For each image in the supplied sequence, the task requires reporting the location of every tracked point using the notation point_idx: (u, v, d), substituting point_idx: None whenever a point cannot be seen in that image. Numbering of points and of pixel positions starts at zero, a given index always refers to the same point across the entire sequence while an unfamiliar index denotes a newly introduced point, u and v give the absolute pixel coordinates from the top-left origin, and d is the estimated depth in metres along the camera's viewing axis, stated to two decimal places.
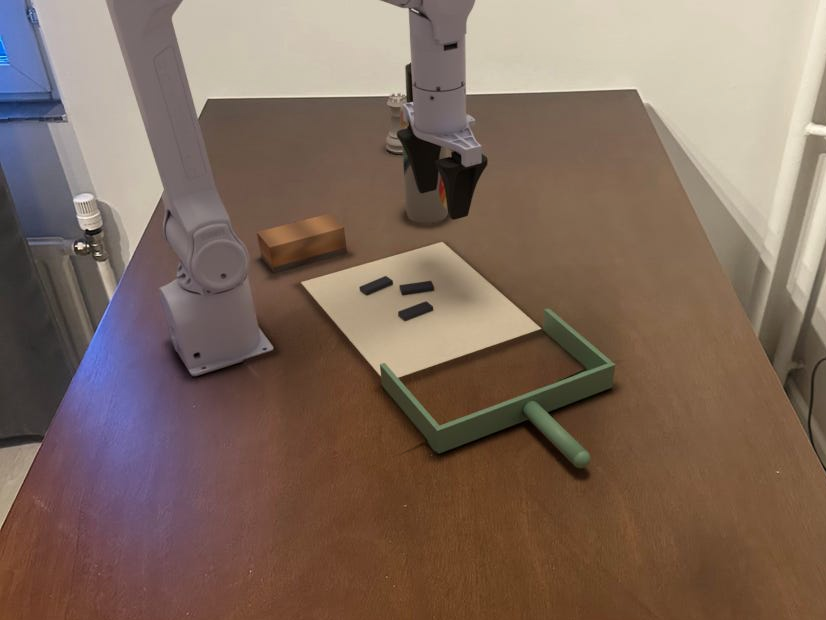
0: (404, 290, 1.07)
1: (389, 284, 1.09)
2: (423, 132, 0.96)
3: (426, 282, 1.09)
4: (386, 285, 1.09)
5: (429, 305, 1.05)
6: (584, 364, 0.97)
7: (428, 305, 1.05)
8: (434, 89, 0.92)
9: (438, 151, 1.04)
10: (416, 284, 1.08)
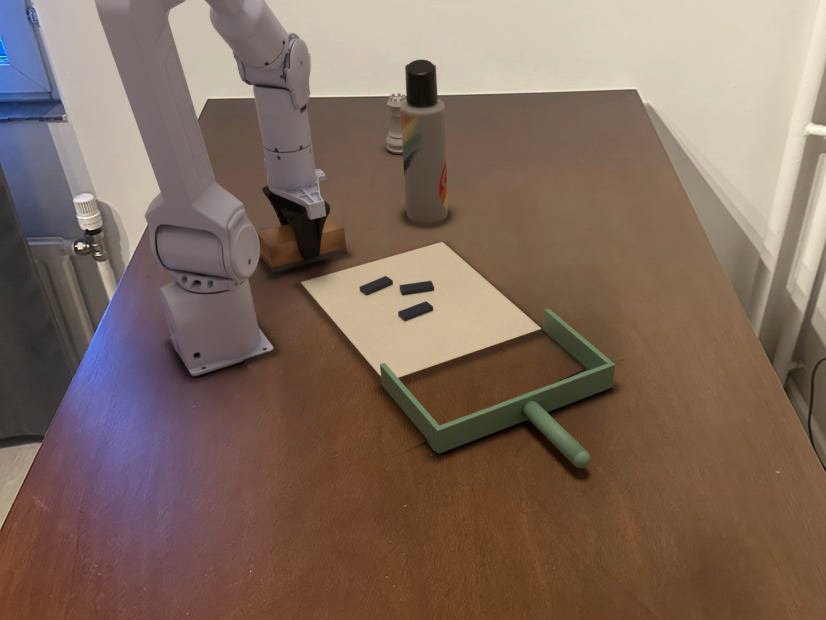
0: (404, 290, 1.07)
1: (389, 284, 1.09)
2: (275, 187, 1.06)
3: (426, 282, 1.09)
4: (386, 285, 1.09)
5: (429, 305, 1.05)
6: (584, 364, 0.97)
7: (428, 305, 1.05)
8: (298, 148, 1.03)
9: None
10: (416, 284, 1.08)
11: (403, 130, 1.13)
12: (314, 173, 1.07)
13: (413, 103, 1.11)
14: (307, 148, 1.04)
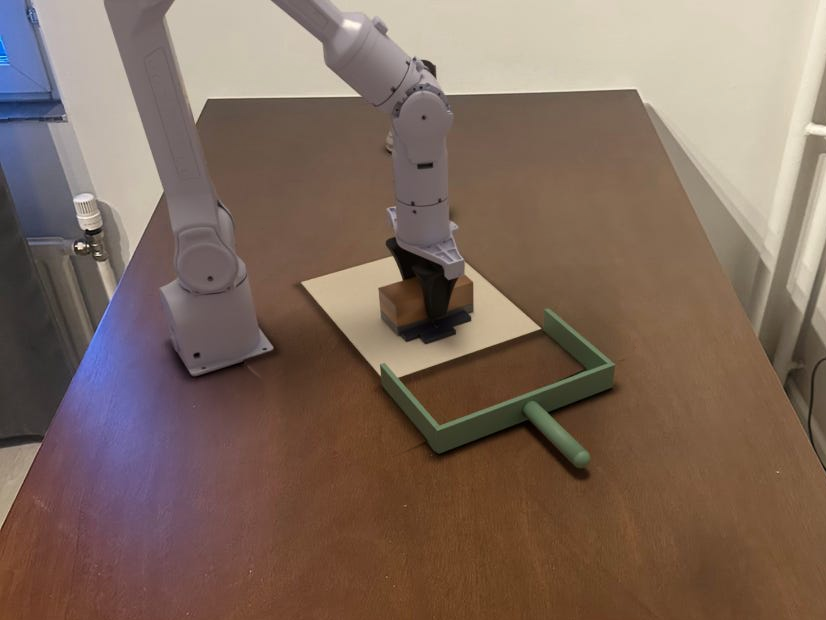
0: (443, 325, 1.02)
1: None
2: (406, 243, 0.95)
3: (461, 313, 1.04)
4: None
5: (452, 329, 1.01)
6: (584, 364, 0.97)
7: (451, 328, 1.01)
8: (409, 203, 0.92)
9: (427, 258, 1.03)
10: (452, 316, 1.03)
11: None
12: (449, 227, 0.96)
13: None
14: (445, 201, 0.93)
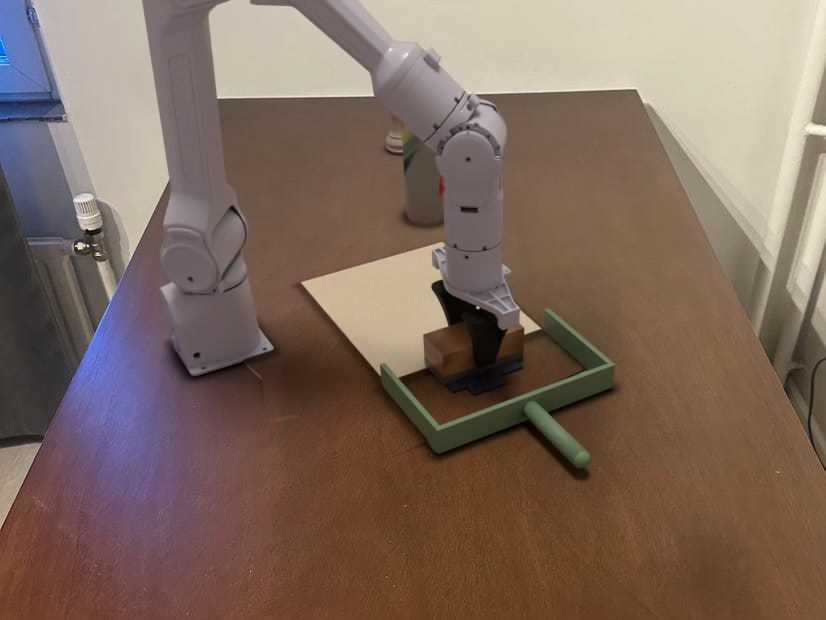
0: (494, 375, 0.95)
1: None
2: (456, 289, 0.89)
3: (512, 362, 0.97)
4: None
5: (502, 380, 0.95)
6: (584, 364, 0.97)
7: (501, 380, 0.95)
8: (452, 245, 0.86)
9: None
10: (502, 366, 0.97)
11: (403, 130, 1.13)
12: (501, 271, 0.90)
13: None
14: (499, 245, 0.87)
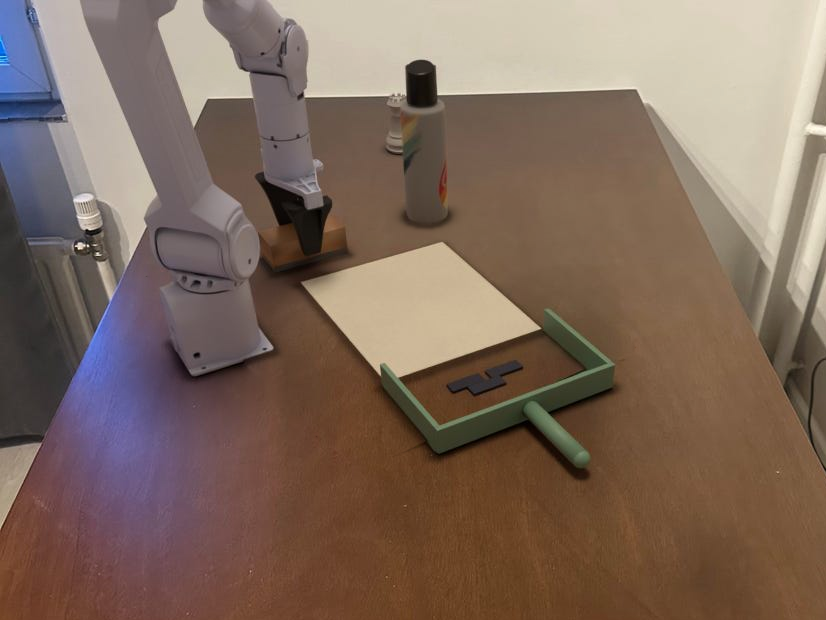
0: (494, 376, 0.95)
1: None
2: (271, 177, 1.04)
3: (512, 362, 0.97)
4: None
5: (502, 380, 0.95)
6: (584, 364, 0.97)
7: (501, 380, 0.95)
8: (294, 137, 1.01)
9: None
10: (503, 366, 0.97)
11: (403, 130, 1.13)
12: (311, 163, 1.05)
13: (413, 103, 1.11)
14: (304, 137, 1.02)
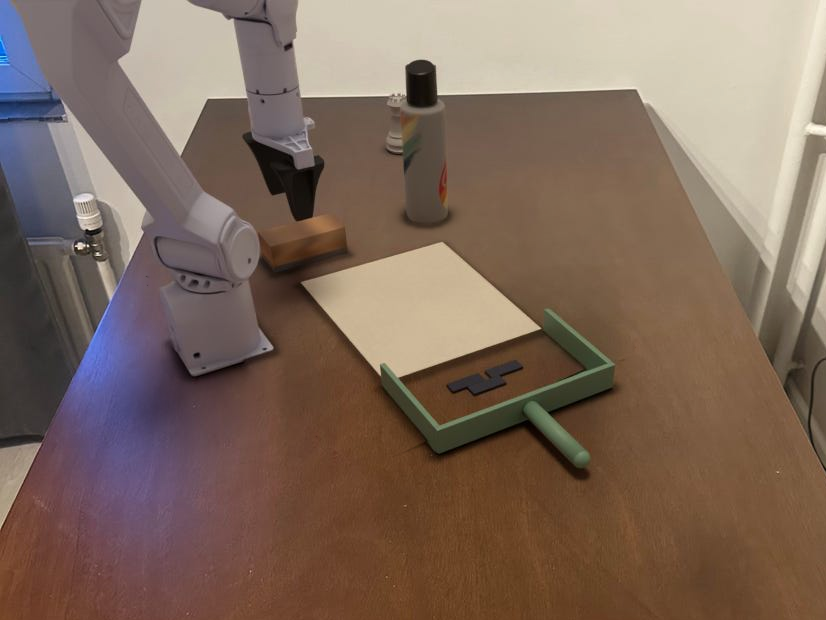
0: (494, 376, 0.95)
1: None
2: (259, 135, 0.97)
3: (512, 362, 0.97)
4: None
5: (502, 380, 0.95)
6: (584, 364, 0.97)
7: (501, 380, 0.95)
8: (281, 91, 0.94)
9: (286, 153, 1.05)
10: (503, 366, 0.97)
11: (403, 130, 1.13)
12: (302, 120, 0.98)
13: (413, 103, 1.11)
14: (294, 91, 0.95)
